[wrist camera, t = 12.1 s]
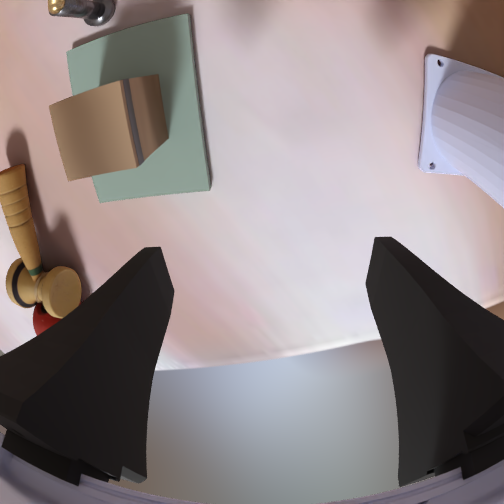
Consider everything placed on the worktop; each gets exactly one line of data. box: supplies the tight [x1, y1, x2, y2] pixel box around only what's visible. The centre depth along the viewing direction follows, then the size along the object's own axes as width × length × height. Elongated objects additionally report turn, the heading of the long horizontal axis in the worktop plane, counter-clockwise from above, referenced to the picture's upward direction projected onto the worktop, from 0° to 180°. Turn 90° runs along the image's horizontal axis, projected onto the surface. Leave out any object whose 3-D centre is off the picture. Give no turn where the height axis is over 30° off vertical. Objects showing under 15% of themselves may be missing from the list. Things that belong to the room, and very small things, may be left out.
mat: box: [66, 14, 211, 203], centre depth 15 cm, size 8×11×1 cm
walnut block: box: [49, 74, 169, 181], centre depth 13 cm, size 4×4×5 cm
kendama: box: [0, 164, 81, 336], centre depth 20 cm, size 8×6×18 cm
